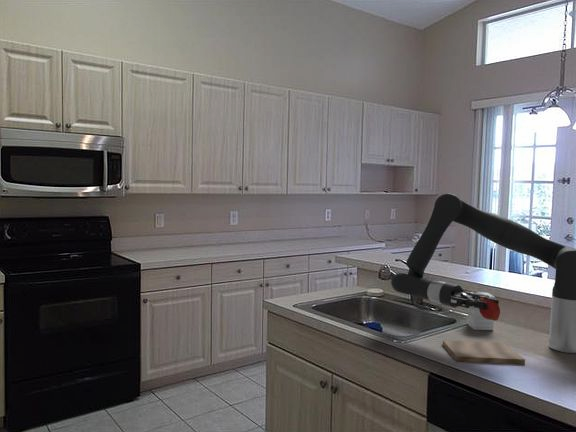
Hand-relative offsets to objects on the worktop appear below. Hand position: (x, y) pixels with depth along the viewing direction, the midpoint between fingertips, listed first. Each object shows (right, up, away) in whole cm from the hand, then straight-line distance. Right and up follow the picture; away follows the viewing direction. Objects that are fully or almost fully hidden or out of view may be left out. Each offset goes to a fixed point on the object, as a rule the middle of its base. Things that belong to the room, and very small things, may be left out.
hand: (492, 305), depth 147 cm
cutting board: (-2, -16, +4) cm, 16 cm away
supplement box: (+9, -15, +33) cm, 37 cm away
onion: (+1, -5, -1) cm, 5 cm away
